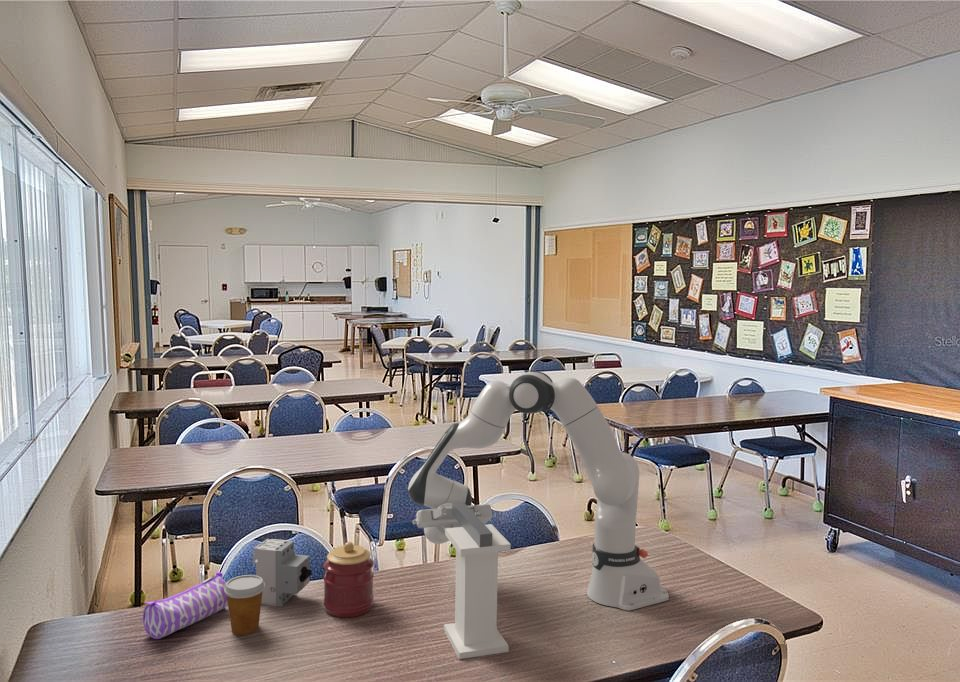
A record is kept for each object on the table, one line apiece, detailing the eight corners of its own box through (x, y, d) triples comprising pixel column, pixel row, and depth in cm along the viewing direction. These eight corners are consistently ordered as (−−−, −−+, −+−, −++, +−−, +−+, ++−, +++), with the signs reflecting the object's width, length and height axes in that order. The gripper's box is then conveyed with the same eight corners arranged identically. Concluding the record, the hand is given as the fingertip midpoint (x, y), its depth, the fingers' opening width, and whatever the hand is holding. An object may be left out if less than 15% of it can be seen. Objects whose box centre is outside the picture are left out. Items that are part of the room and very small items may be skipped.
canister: (328, 622, 180) (327, 554, 178) (320, 600, 192) (319, 536, 190) (378, 614, 184) (378, 548, 183) (367, 593, 196) (367, 531, 195)
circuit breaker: (303, 608, 187) (302, 553, 185) (253, 602, 189) (252, 548, 188) (315, 596, 194) (315, 543, 193) (267, 590, 197) (266, 538, 195)
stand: (489, 623, 180) (491, 524, 178) (508, 651, 167) (510, 544, 164) (443, 630, 176) (445, 528, 174) (459, 659, 163) (460, 549, 161)
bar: (463, 512, 186) (463, 501, 186) (492, 546, 163) (492, 533, 163) (451, 513, 185) (452, 502, 185) (479, 547, 162) (480, 534, 162)
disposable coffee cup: (273, 623, 178) (272, 577, 177) (249, 641, 169) (248, 593, 168) (241, 617, 181) (240, 571, 180) (216, 634, 172) (215, 586, 171)
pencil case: (210, 601, 190) (210, 567, 190) (236, 608, 186) (235, 573, 185) (138, 637, 171) (137, 599, 170) (165, 647, 167) (164, 608, 166)
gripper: (409, 512, 193) (419, 500, 181) (481, 506, 199) (495, 494, 187) (412, 535, 190) (422, 525, 178) (484, 528, 196) (499, 518, 184)
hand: (460, 509), depth 183 cm, fingers open, 8 cm apart
